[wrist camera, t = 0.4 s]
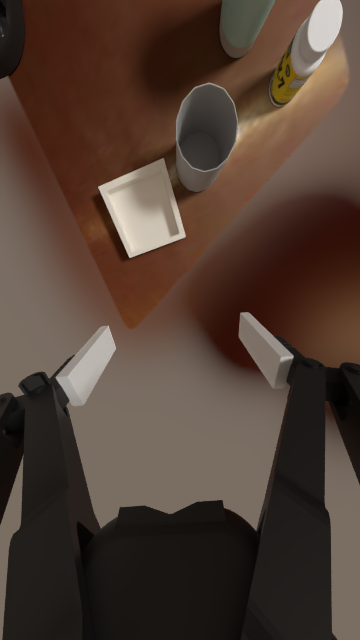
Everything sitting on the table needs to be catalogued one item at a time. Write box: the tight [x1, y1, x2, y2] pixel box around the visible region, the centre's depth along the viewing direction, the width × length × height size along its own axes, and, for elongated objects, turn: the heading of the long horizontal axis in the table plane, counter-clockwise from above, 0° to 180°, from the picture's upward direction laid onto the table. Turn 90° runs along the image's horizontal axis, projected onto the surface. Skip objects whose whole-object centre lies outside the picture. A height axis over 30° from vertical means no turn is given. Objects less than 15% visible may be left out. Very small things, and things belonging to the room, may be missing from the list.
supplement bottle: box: [269, 0, 342, 107], centre depth 22 cm, size 5×5×8 cm
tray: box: [98, 158, 186, 258], centre depth 32 cm, size 13×13×2 cm
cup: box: [176, 82, 238, 192], centre depth 26 cm, size 8×8×10 cm
